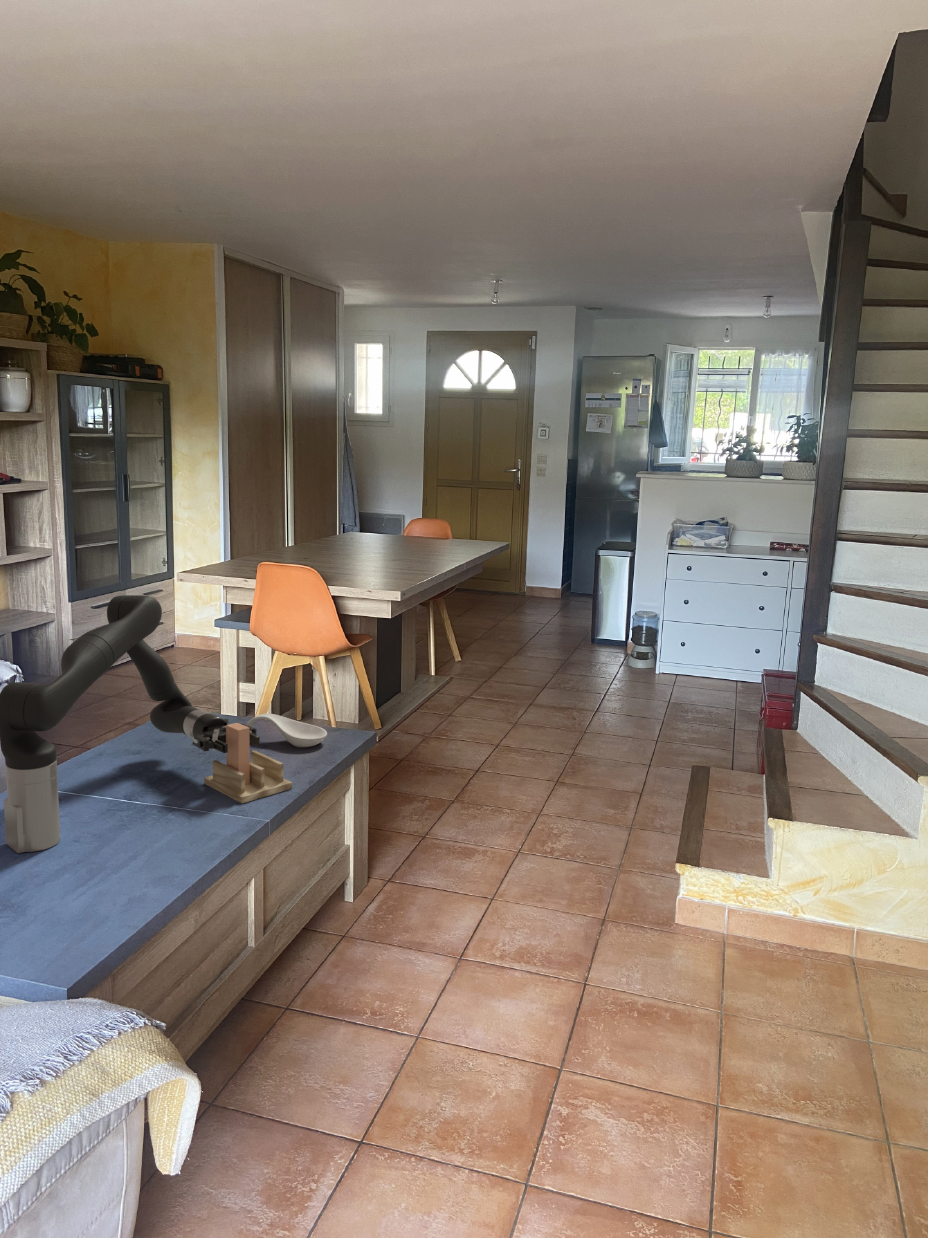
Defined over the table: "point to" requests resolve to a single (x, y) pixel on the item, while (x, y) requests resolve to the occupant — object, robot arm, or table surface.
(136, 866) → the table surface
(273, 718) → the spoon rest
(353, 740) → the table surface
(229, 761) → the clay slat
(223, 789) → the wooden slotted stand
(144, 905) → the table surface
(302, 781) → the table surface
